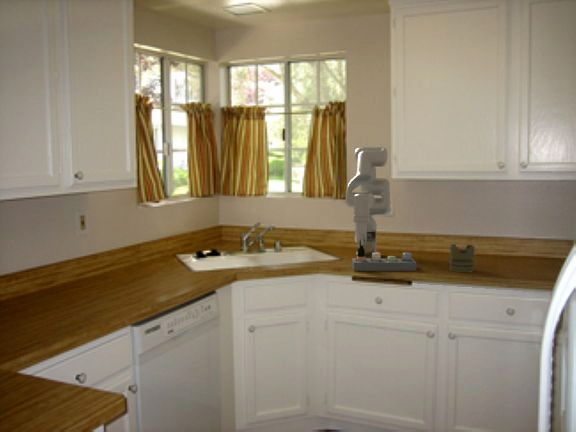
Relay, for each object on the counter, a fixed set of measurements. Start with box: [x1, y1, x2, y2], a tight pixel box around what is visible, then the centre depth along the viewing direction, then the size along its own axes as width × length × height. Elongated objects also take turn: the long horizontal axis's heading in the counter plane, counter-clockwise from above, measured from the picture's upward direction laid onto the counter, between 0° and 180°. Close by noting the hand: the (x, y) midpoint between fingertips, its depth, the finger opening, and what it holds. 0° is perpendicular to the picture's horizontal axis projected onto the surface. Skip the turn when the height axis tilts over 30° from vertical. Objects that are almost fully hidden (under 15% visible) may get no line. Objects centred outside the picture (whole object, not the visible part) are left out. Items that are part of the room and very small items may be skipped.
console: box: [351, 257, 418, 272], centre depth 305 cm, size 12×30×4 cm, turn 89°
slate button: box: [402, 252, 412, 261], centre depth 305 cm, size 4×4×4 cm
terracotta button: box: [356, 255, 365, 261], centre depth 305 cm, size 4×4×4 cm
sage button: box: [387, 255, 397, 261], centre depth 305 cm, size 4×4×4 cm
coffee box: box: [364, 230, 377, 258], centre depth 324 cm, size 9×6×16 cm
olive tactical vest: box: [449, 243, 476, 273], centre depth 299 cm, size 11×12×11 cm
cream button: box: [372, 252, 382, 261], centre depth 305 cm, size 4×4×4 cm
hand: (361, 256), depth 305 cm, fingers closed
